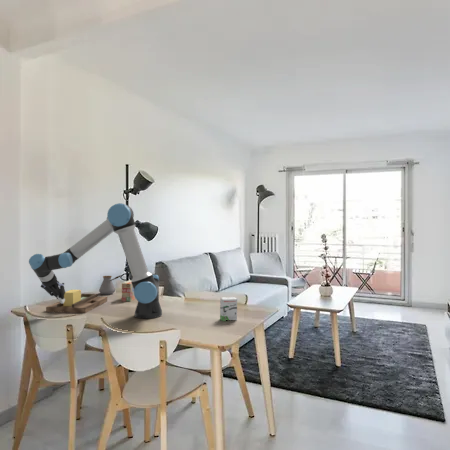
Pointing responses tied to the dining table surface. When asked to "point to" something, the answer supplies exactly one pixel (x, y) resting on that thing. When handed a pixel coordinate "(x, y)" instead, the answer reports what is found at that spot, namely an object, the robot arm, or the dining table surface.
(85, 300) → the trap board
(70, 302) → the ochre block
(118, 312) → the dining table surface
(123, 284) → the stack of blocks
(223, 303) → the ink box
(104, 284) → the coffee pot
